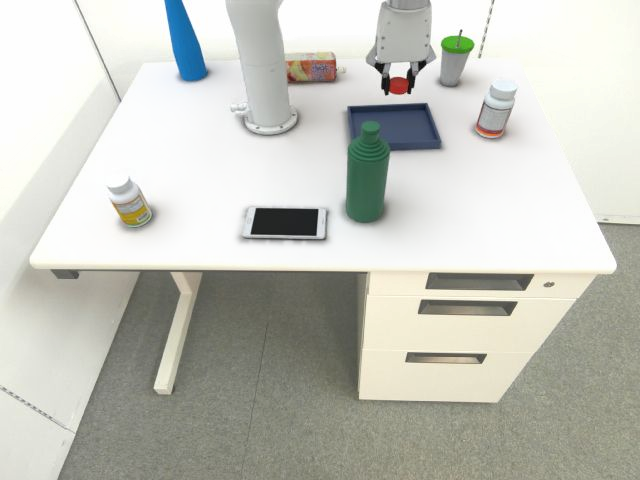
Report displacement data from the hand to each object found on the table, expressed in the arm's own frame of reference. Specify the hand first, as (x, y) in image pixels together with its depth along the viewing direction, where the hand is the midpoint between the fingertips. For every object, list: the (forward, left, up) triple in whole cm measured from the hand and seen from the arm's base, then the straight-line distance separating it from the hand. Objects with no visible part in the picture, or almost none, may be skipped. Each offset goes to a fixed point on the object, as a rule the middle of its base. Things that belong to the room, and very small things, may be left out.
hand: (397, 90), depth 85 cm
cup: (+18, +20, -10) cm, 29 cm away
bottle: (-51, +30, -10) cm, 60 cm away
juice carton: (-22, +25, -10) cm, 35 cm away
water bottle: (-9, -25, -10) cm, 28 cm away
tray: (0, 0, -10) cm, 10 cm away
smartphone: (-24, -28, -10) cm, 38 cm away
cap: (0, -1, +2) cm, 2 cm away
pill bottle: (+22, -2, -10) cm, 24 cm away
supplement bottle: (-52, -25, -10) cm, 59 cm away
